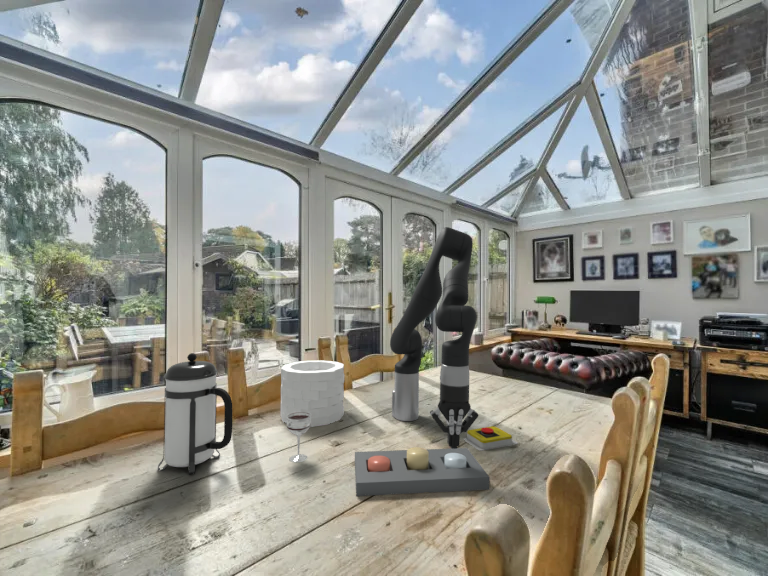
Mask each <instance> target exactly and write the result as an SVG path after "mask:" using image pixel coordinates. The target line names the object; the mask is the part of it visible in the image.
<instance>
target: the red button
mask: <svg viewBox="0 0 768 576" xmlns="http://www.w3.org/2000/svg"><path fill="white" fill-rule="evenodd" d="M380 471H390V459H389V458H387V457H385V456H373V457H370V458H369V459H368V471H367V472H380Z"/></svg>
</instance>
